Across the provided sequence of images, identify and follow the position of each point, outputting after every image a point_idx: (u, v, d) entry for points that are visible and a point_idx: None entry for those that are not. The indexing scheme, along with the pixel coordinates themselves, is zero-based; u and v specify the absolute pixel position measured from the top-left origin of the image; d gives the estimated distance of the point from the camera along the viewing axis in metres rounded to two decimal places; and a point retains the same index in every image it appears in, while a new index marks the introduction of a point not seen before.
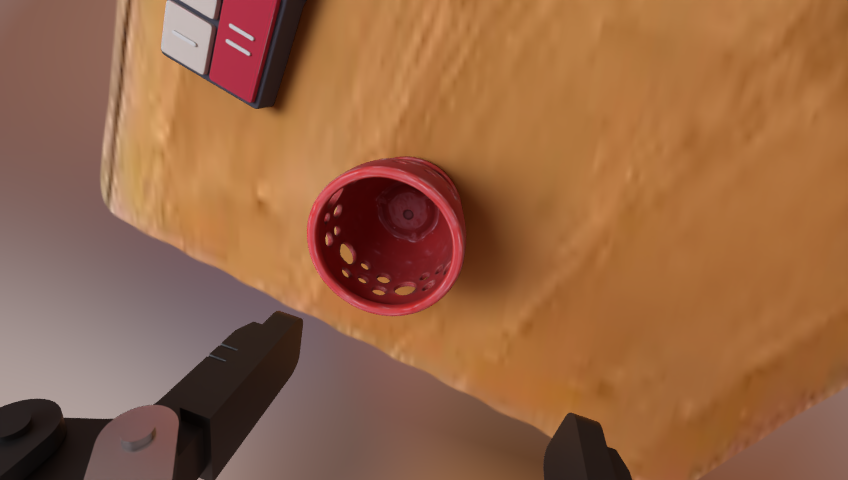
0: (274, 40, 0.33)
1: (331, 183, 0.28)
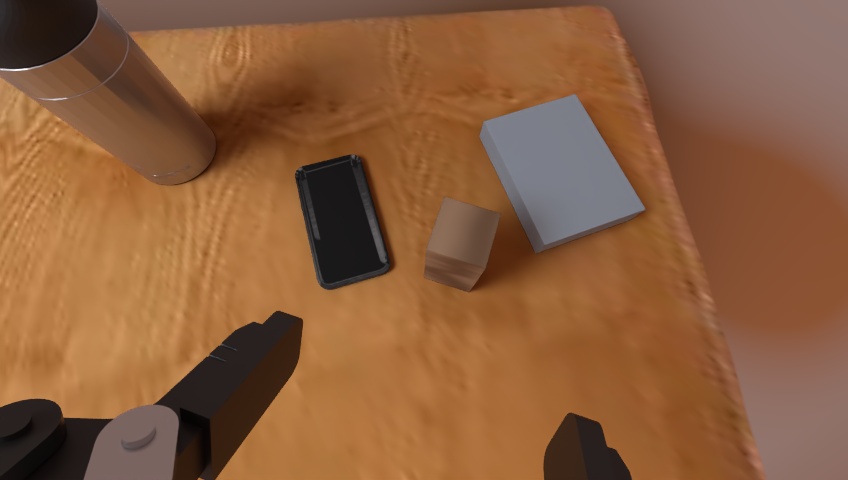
0: None
1: None
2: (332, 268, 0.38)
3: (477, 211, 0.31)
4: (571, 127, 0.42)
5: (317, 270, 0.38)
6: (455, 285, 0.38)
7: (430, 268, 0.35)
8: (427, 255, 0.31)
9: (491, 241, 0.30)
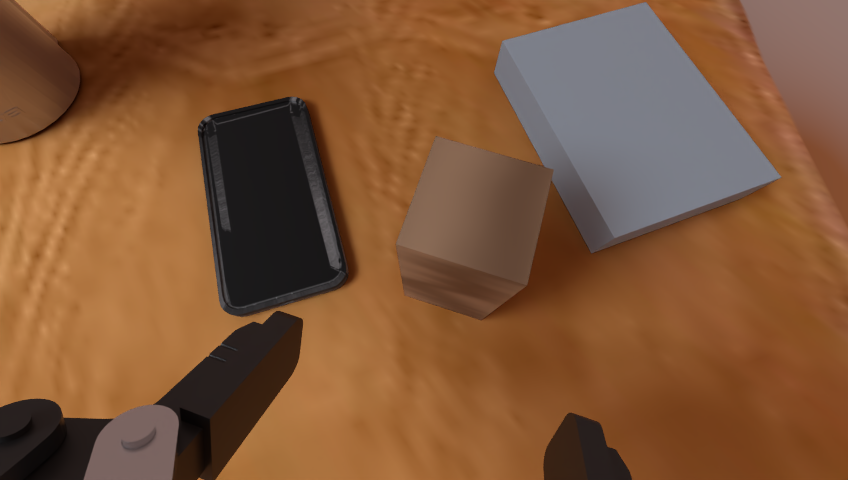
0: None
1: None
2: (247, 279, 0.22)
3: (505, 166, 0.15)
4: (643, 50, 0.26)
5: (221, 283, 0.22)
6: (458, 309, 0.22)
7: (412, 281, 0.19)
8: (401, 257, 0.15)
9: (537, 226, 0.14)
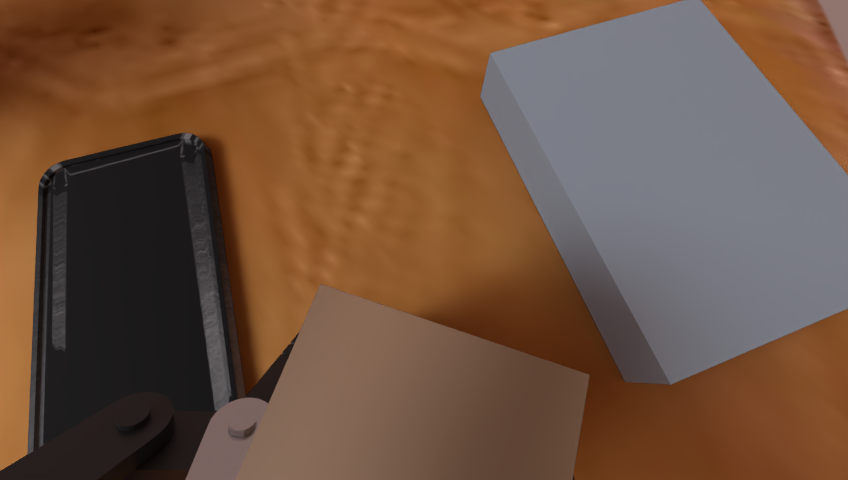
0: None
1: None
2: None
3: (474, 364, 0.06)
4: (698, 67, 0.18)
5: (35, 444, 0.14)
6: None
7: None
8: None
9: None
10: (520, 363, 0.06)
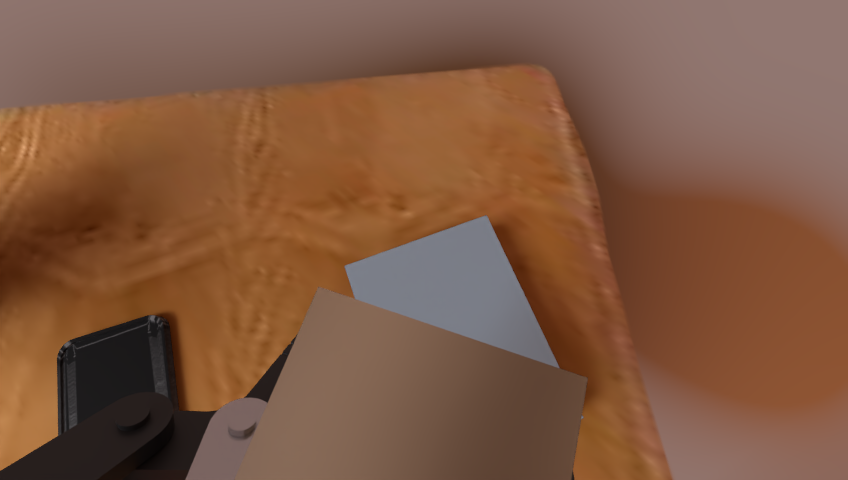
0: None
1: None
2: None
3: (472, 367, 0.06)
4: (476, 272, 0.28)
5: None
6: None
7: None
8: None
9: None
10: (518, 366, 0.06)
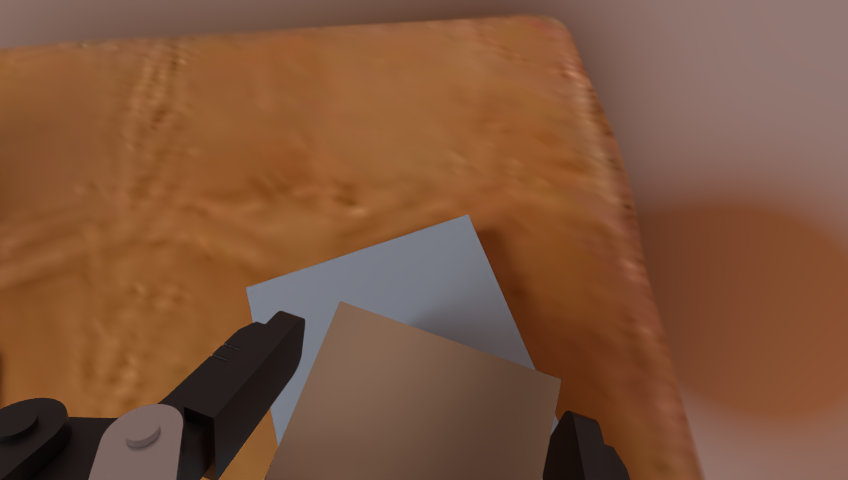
0: None
1: None
2: None
3: (467, 370, 0.08)
4: (448, 302, 0.18)
5: None
6: None
7: None
8: None
9: None
10: (504, 369, 0.08)
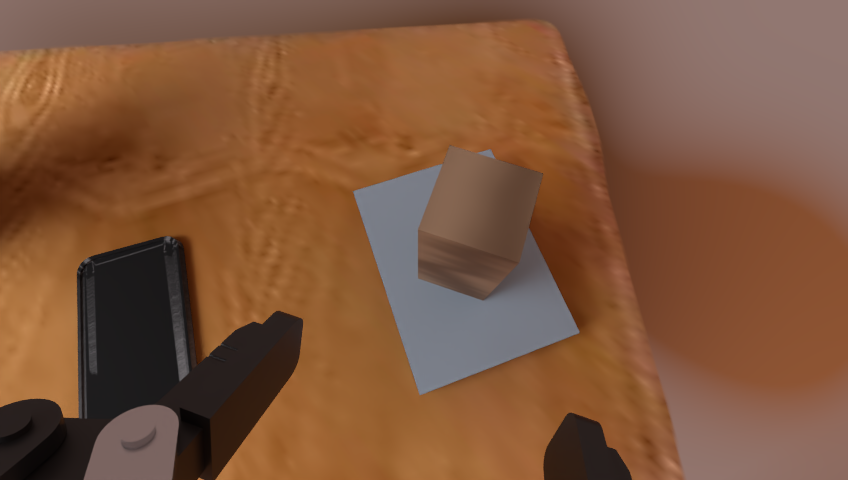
0: None
1: None
2: None
3: (504, 169, 0.19)
4: None
5: None
6: (463, 290, 0.25)
7: (426, 263, 0.22)
8: (420, 241, 0.19)
9: (528, 218, 0.18)
10: (519, 169, 0.19)
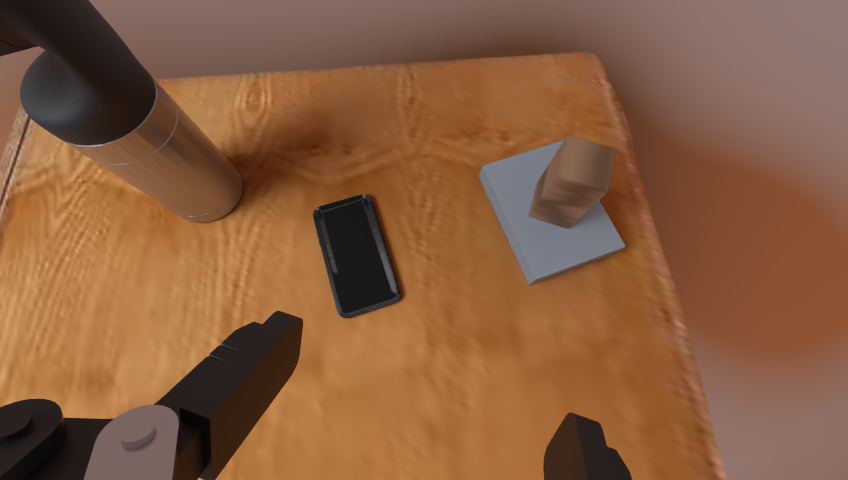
0: None
1: None
2: (349, 299, 0.43)
3: (596, 147, 0.37)
4: None
5: (336, 301, 0.43)
6: (558, 221, 0.43)
7: (544, 201, 0.40)
8: (553, 184, 0.37)
9: (610, 170, 0.36)
10: (604, 147, 0.37)
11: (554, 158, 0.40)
